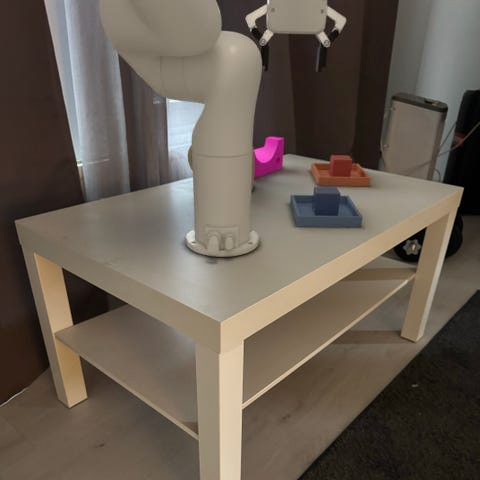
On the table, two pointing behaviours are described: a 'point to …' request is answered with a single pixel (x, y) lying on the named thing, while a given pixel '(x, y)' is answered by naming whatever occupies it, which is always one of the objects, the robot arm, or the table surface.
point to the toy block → (269, 156)
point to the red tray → (324, 179)
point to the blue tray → (307, 218)
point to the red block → (340, 166)
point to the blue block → (326, 201)
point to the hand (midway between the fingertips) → (292, 71)
